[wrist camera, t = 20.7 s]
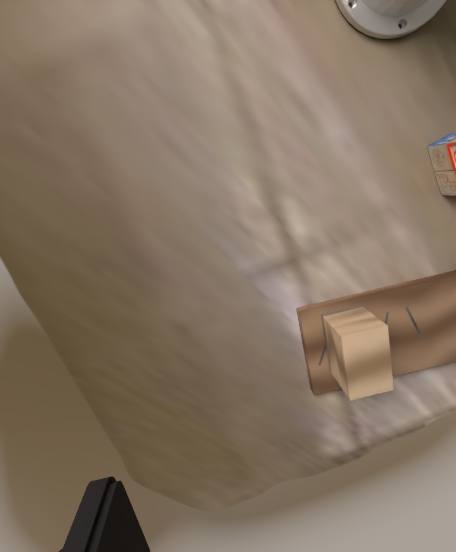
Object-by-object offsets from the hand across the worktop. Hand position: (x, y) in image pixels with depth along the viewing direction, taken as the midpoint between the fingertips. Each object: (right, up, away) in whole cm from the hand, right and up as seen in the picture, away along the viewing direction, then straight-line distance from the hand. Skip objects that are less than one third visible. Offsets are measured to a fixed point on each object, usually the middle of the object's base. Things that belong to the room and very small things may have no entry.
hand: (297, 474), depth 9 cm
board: (+19, -2, +33) cm, 38 cm away
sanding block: (+13, -2, +32) cm, 34 cm away
